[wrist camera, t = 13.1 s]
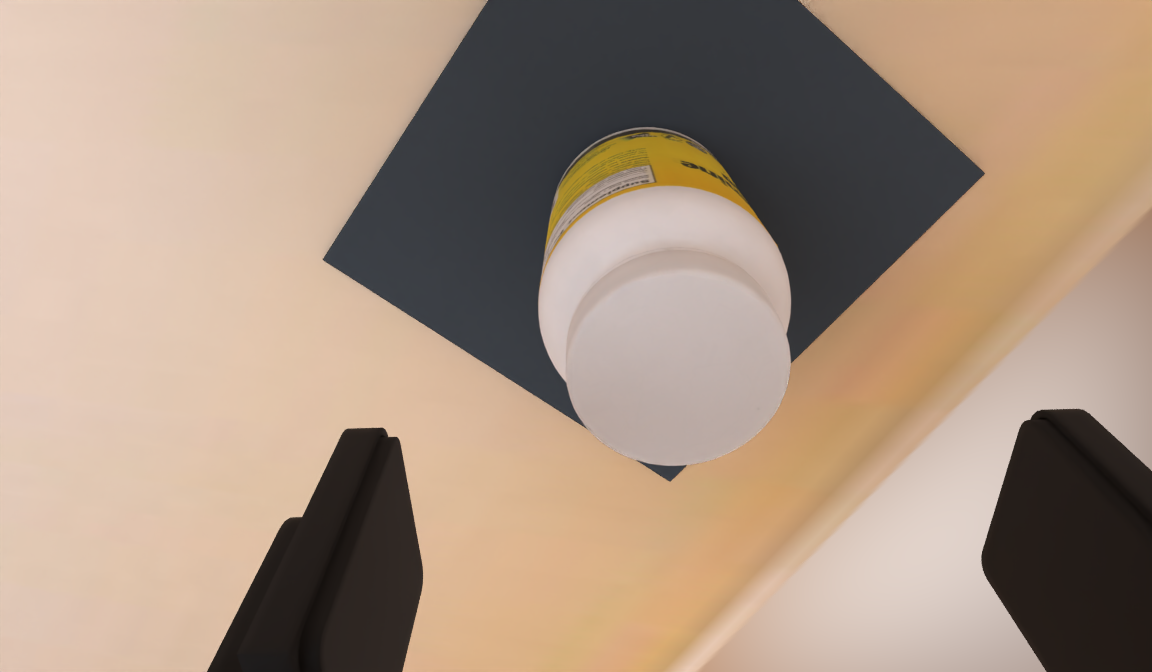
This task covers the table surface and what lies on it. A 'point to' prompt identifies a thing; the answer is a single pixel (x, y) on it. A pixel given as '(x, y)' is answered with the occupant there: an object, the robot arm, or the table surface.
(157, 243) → the table surface
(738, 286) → the pill bottle
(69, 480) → the table surface
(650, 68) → the mat
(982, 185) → the table surface
